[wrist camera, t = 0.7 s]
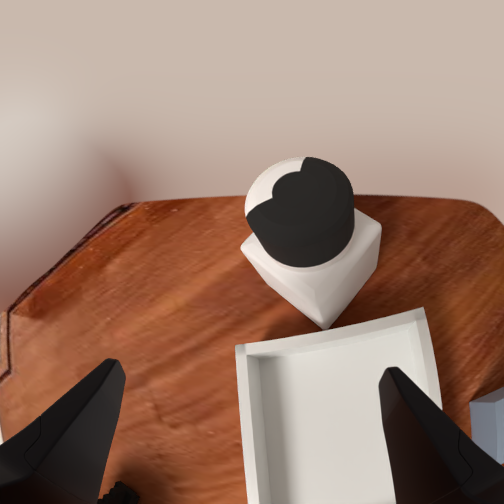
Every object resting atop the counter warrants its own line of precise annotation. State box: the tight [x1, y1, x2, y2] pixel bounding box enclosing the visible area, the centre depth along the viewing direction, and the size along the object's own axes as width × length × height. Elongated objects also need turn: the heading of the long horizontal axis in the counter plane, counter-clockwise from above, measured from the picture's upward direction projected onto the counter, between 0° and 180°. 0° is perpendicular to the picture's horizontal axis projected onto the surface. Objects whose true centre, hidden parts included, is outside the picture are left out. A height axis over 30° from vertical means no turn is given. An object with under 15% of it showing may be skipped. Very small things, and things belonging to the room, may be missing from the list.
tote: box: [235, 307, 442, 504], centre depth 16 cm, size 18×14×4 cm
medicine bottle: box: [241, 157, 382, 330], centre depth 20 cm, size 7×7×12 cm
